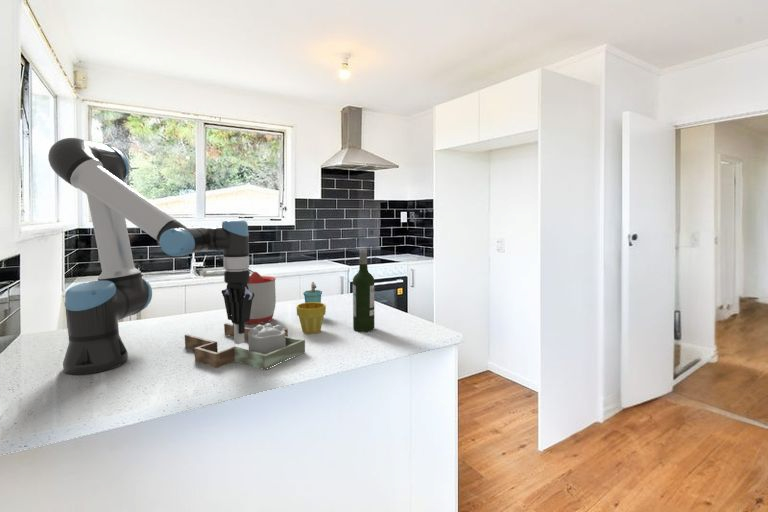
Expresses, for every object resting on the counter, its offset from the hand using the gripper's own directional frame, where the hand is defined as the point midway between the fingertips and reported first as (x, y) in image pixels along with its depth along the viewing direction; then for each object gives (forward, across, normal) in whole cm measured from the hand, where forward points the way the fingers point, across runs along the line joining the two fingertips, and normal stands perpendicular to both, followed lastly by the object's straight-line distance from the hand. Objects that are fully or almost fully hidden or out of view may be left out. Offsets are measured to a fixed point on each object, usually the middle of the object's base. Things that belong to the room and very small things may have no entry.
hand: (239, 342), depth 128 cm
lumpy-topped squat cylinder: (+2, -10, -2) cm, 11 cm away
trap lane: (+2, -2, 0) cm, 3 cm away
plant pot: (+2, -7, -26) cm, 27 cm away
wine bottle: (+2, -22, -38) cm, 44 cm away
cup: (+2, +5, -41) cm, 42 cm away
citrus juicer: (+2, +22, -25) cm, 33 cm away
